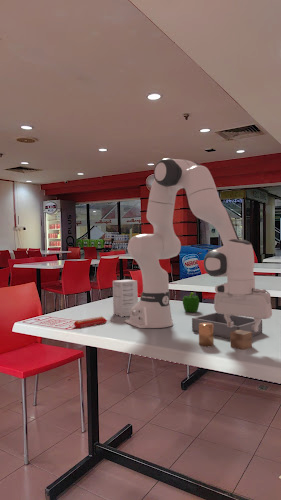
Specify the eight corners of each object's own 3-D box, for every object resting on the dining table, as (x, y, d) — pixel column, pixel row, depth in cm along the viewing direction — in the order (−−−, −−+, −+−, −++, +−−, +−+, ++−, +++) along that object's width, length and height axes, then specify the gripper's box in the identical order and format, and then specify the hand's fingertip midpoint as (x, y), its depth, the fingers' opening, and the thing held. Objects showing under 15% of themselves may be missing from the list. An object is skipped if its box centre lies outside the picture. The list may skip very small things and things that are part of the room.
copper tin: (196, 344, 128) (195, 324, 128) (205, 341, 131) (204, 322, 131) (207, 347, 124) (207, 326, 124) (216, 344, 128) (216, 324, 127)
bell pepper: (182, 310, 191) (182, 290, 191) (198, 310, 190) (198, 290, 190) (183, 313, 183) (182, 293, 182) (199, 313, 182) (199, 293, 182)
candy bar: (76, 329, 155) (76, 322, 155) (72, 327, 158) (72, 320, 158) (108, 323, 165) (108, 316, 165) (103, 322, 168) (103, 315, 168)
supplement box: (138, 314, 181) (138, 280, 181) (122, 317, 176) (121, 282, 176) (128, 311, 189) (128, 279, 189) (112, 314, 184) (112, 280, 184)
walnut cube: (230, 347, 125) (230, 332, 124) (239, 344, 128) (238, 329, 128) (243, 350, 121) (243, 334, 121) (251, 346, 124) (251, 332, 124)
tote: (192, 330, 148) (192, 318, 147) (216, 324, 158) (216, 312, 158) (239, 340, 131) (238, 326, 131) (262, 332, 142) (262, 319, 142)
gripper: (275, 288, 118) (276, 332, 118) (221, 285, 133) (223, 323, 133) (264, 290, 114) (266, 335, 114) (211, 286, 129) (212, 326, 129)
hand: (242, 329), depth 124 cm, fingers open, 8 cm apart
